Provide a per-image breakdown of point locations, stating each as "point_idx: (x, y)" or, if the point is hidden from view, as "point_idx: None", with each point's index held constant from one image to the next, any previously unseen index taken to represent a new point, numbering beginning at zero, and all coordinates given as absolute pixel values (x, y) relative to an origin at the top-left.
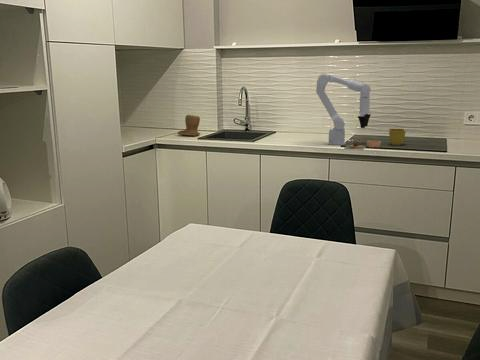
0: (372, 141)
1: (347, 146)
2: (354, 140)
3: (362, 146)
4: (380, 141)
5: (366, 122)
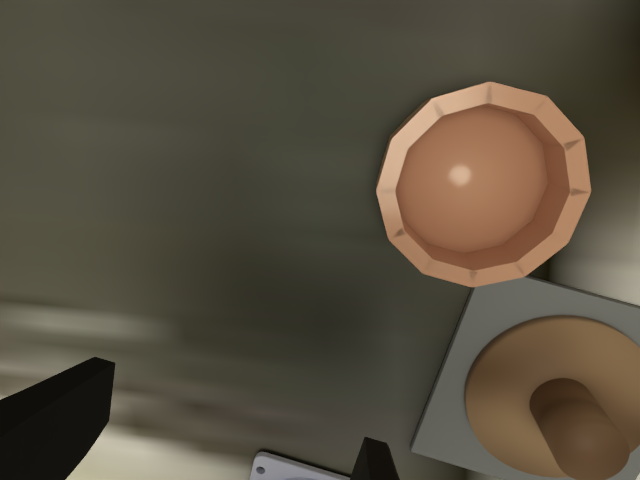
0: (396, 199)
1: (512, 471)
2: (595, 473)
3: (619, 337)
4: (493, 84)
5: (48, 435)
